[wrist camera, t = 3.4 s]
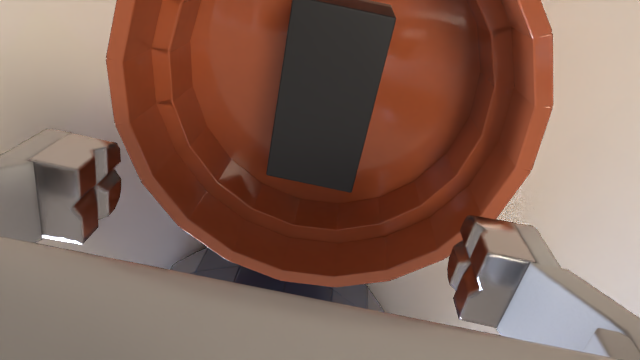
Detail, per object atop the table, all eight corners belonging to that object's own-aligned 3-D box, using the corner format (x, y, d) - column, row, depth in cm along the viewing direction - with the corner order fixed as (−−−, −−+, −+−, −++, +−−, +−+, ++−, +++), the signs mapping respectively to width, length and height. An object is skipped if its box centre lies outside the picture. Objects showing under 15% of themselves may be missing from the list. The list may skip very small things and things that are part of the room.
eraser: (305, -14, 19) (292, -5, 15) (391, 4, 19) (396, 17, 15) (280, 141, 22) (265, 175, 19) (353, 157, 22) (351, 193, 19)
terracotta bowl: (313, -232, 16) (290, -309, 11) (582, 62, 20) (653, 102, 15) (109, 86, 22) (36, 127, 17) (344, 264, 26) (338, 340, 21)
